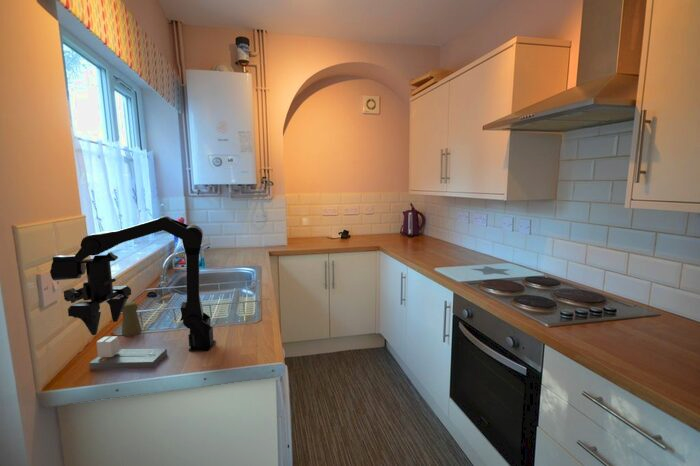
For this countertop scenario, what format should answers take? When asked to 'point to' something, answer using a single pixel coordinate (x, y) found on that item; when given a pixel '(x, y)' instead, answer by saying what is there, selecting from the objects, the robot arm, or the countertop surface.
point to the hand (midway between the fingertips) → (105, 327)
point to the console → (130, 359)
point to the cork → (130, 319)
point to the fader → (108, 346)
